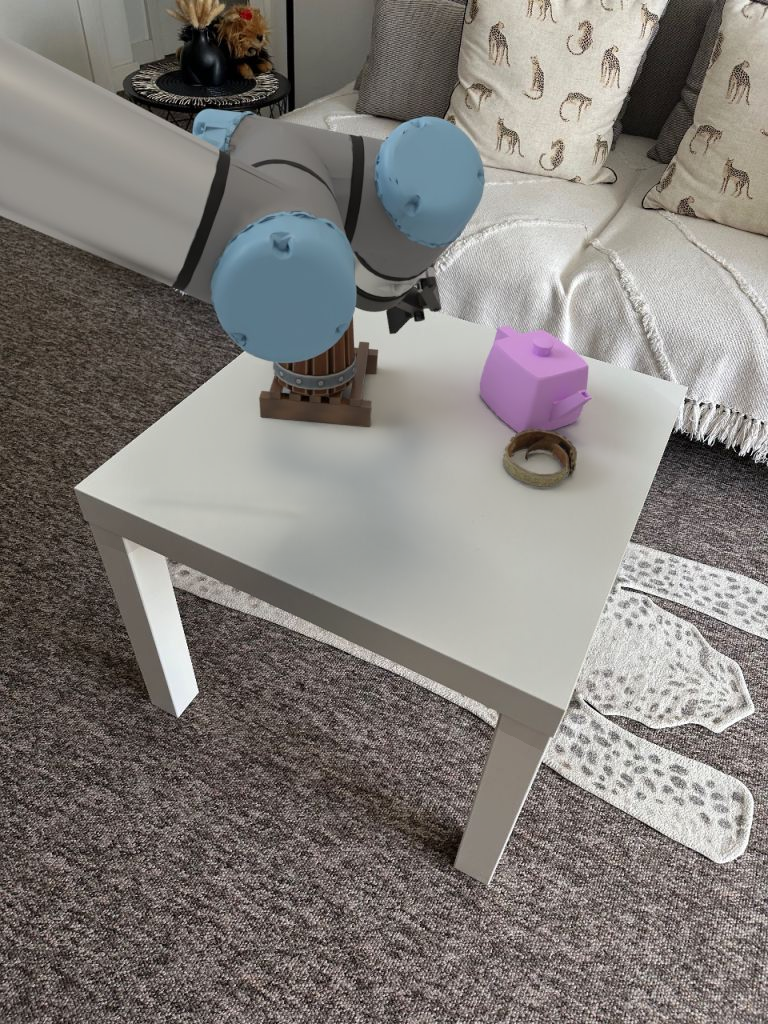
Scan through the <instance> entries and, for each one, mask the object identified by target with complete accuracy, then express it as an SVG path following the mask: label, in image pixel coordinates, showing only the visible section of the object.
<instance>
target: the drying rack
mask: <svg viewBox="0 0 768 1024" xmlns="http://www.w3.org/2000/svg"><path fill="white" fill-rule="evenodd" d="M354 350H355V352H356V372H355V378H354V380H353V382H352V383H351V387H350V388H351V389H350V395H349V398H348V397H347V398H346V397H343V394H344V389H343V390H341V391H339V392H337V393H334V394H331V395H329V396H327V395H325V396H307V395H301V394H298V393H295V392H292V391H290V390H289V392H284V389H285V387H284V386H282V385H281V384H280V383H279V382H278V380H277V379H276V377H275V375H274V374H273V375H274V376H273V379H272V382H271V385H270V389H269V391H268V390H261V391H260V394H259V397H258V400H259V401H258V402H259V413H260V414H259V416H260V418H269V419H280V420H291V421H292V420H293V421H300V422H301V421H302V422H311V423H323V424H324V423H325V424H334V425H346V426H356V427H357V426H358V427H368V428H369V427H370V426H371V420H372V419H371V418H372V406H373V405H372V403H373V402H372V400H369V399H363V392H364V385H365V378H366V374H373V375H377V371H378V360H379V349H375V348H370V342H368V341H359V342H358V347H355V346H354Z"/></svg>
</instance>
